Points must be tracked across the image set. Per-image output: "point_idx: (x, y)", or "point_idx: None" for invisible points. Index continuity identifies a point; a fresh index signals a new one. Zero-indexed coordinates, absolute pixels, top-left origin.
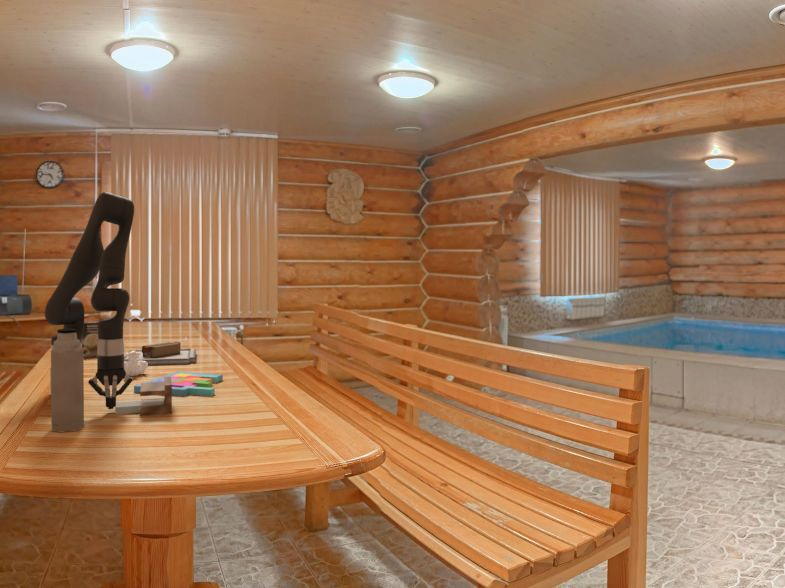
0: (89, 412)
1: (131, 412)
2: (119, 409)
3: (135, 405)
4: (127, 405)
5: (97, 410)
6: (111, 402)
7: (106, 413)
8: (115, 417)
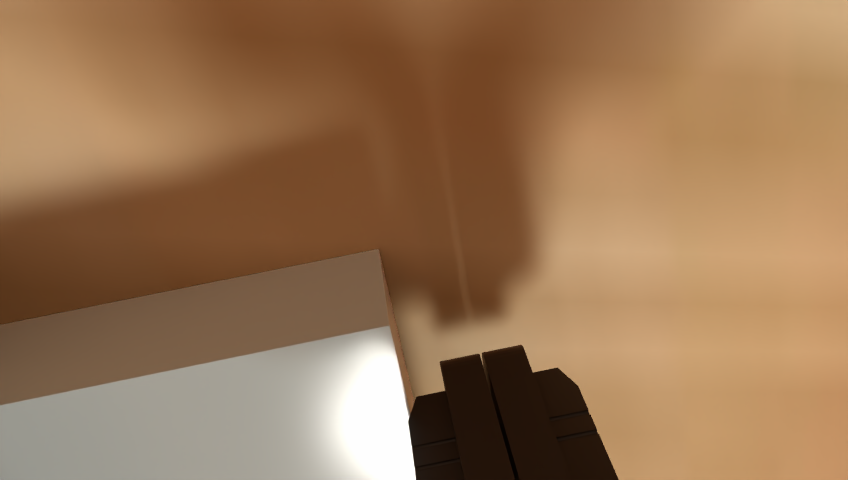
0: (769, 342)
1: (116, 306)
2: (310, 308)
3: (34, 435)
4: (197, 434)
5: (670, 425)
6: (488, 436)
7: (527, 290)
8: (305, 25)
